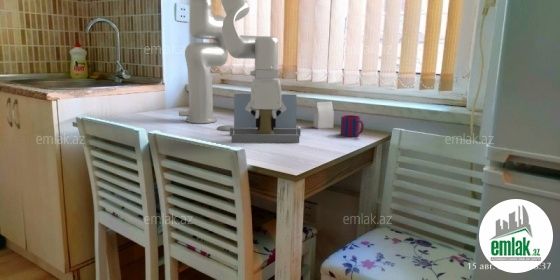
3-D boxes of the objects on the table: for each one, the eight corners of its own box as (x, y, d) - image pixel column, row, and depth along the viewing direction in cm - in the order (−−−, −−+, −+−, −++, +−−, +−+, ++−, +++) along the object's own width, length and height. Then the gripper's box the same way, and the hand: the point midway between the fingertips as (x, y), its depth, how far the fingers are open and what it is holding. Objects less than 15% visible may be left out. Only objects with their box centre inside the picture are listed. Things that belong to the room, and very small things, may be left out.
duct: (230, 134, 147) (230, 126, 146) (299, 134, 148) (300, 126, 147) (227, 142, 135) (227, 133, 134) (303, 142, 136) (303, 133, 135)
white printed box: (333, 127, 162) (334, 102, 160) (318, 128, 160) (319, 103, 157) (328, 126, 166) (329, 101, 163) (313, 127, 163) (314, 101, 161)
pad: (215, 131, 152) (215, 130, 152) (218, 125, 161) (218, 125, 161) (243, 131, 152) (243, 130, 152) (244, 126, 162) (244, 125, 162)
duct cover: (234, 127, 146) (234, 127, 147) (296, 128, 147) (296, 128, 148) (234, 93, 146) (234, 94, 147) (296, 94, 147) (296, 94, 148)
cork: (272, 141, 137) (272, 108, 135) (254, 139, 139) (254, 107, 136) (275, 137, 143) (276, 105, 141) (259, 136, 144) (259, 104, 142)
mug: (352, 132, 153) (353, 114, 152) (368, 138, 144) (369, 119, 143) (336, 134, 151) (337, 115, 149) (352, 139, 142) (353, 120, 140)
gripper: (240, 75, 132) (240, 131, 136) (292, 76, 133) (291, 131, 137) (241, 73, 139) (241, 127, 143) (290, 74, 140) (289, 127, 144)
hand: (265, 129), depth 140 cm, fingers closed on cork, 3 cm apart
